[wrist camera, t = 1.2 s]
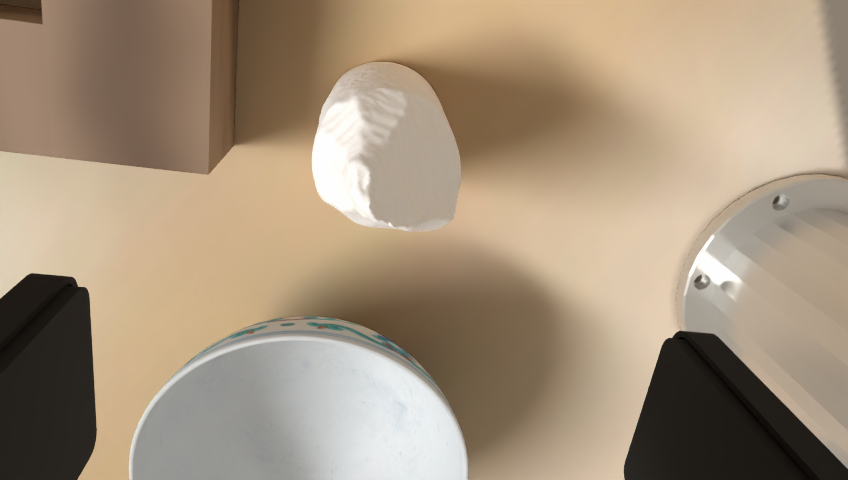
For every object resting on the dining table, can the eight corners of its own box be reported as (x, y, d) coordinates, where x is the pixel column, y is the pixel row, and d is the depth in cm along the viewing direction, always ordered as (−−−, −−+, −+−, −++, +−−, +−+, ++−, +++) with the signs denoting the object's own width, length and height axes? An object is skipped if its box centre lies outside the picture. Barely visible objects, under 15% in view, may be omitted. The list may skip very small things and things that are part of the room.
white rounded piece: (521, 205, 20) (393, 320, 21) (469, 125, 31) (387, 203, 32) (383, 64, 18) (252, 198, 19) (380, 32, 29) (297, 119, 30)
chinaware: (402, 510, 40) (408, 626, 33) (155, 458, 37) (102, 571, 30) (489, 304, 35) (518, 386, 28) (211, 225, 32) (164, 295, 25)
